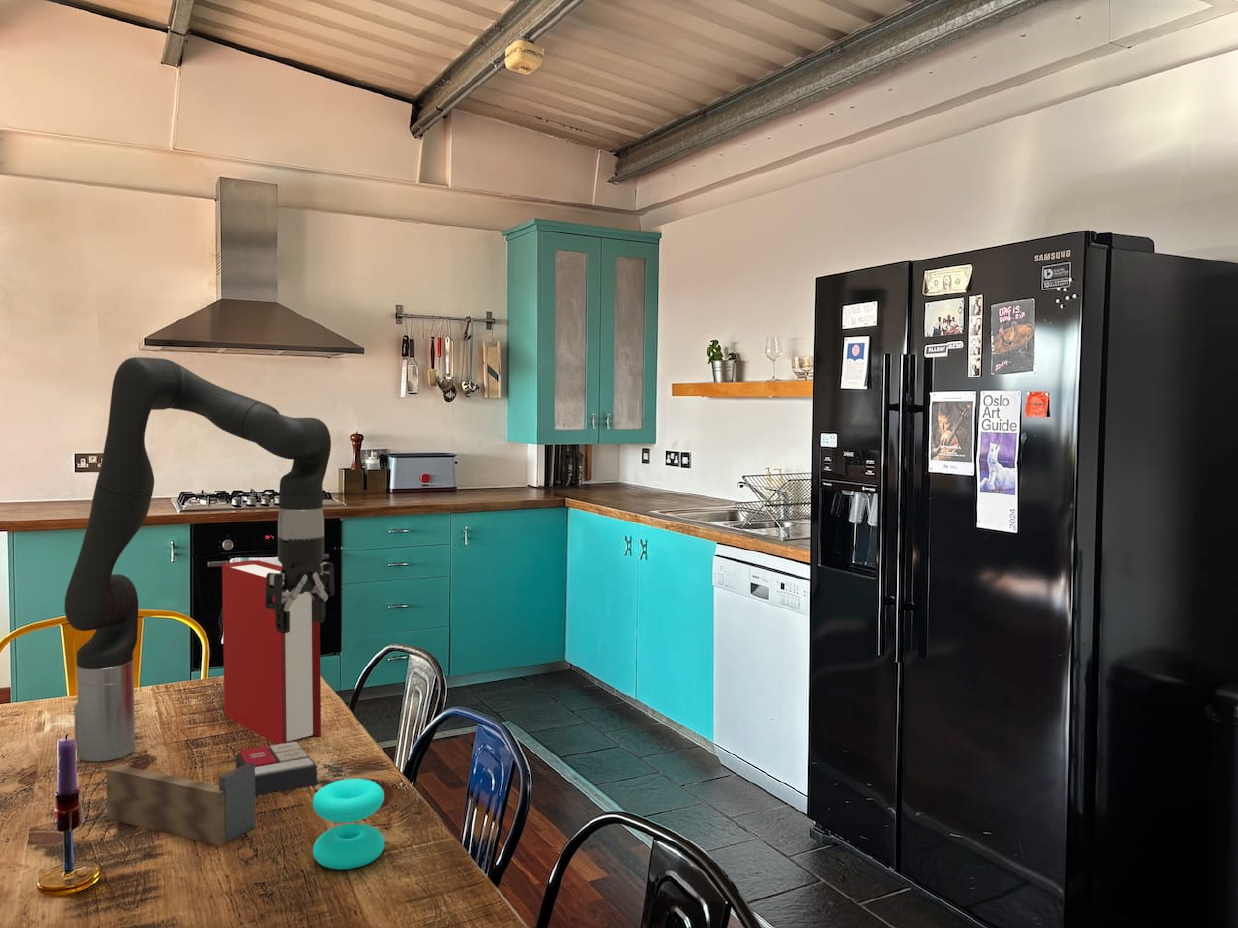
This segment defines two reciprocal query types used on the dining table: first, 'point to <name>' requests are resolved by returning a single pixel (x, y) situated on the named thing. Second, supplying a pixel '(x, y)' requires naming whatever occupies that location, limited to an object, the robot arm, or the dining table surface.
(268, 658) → the book
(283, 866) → the dining table surface
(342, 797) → the donuts
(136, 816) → the mottled stone block
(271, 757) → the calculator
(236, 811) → the bookend
